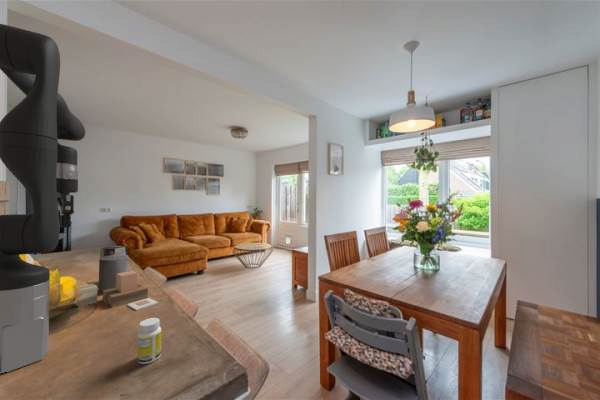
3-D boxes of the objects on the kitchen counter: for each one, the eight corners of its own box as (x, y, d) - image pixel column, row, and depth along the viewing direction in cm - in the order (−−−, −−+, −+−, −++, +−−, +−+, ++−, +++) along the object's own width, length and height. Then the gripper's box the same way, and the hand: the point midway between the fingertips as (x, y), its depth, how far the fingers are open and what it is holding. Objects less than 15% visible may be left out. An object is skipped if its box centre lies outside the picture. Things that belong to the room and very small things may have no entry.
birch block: (97, 302, 88) (97, 286, 88) (78, 307, 83) (79, 290, 84) (92, 299, 90) (92, 283, 91) (74, 304, 86) (74, 287, 86)
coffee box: (128, 280, 112) (128, 246, 113) (114, 285, 106) (114, 248, 107) (113, 279, 115) (113, 245, 115) (98, 283, 109) (99, 247, 109)
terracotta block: (136, 288, 92) (137, 272, 92) (121, 292, 88) (121, 276, 88) (131, 286, 95) (131, 270, 95) (116, 289, 91) (116, 273, 91)
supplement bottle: (156, 349, 60) (157, 314, 60) (164, 357, 57) (165, 320, 57) (134, 359, 56) (134, 322, 56) (141, 367, 53) (141, 328, 53)
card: (158, 303, 87) (158, 301, 87) (136, 310, 81) (136, 308, 81) (148, 299, 91) (148, 297, 91) (127, 305, 85) (127, 303, 85)
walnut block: (147, 299, 92) (147, 288, 92) (112, 309, 83) (112, 297, 83) (136, 292, 99) (136, 282, 99) (102, 301, 90) (102, 290, 90)
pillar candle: (92, 292, 97) (93, 255, 98) (117, 284, 107) (117, 250, 107) (109, 295, 94) (110, 257, 95) (133, 287, 104) (134, 252, 104)
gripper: (41, 178, 82) (40, 226, 81) (52, 175, 74) (51, 229, 73) (71, 180, 88) (70, 224, 88) (84, 177, 80) (83, 227, 80)
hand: (62, 226), depth 80 cm, fingers open, 8 cm apart
